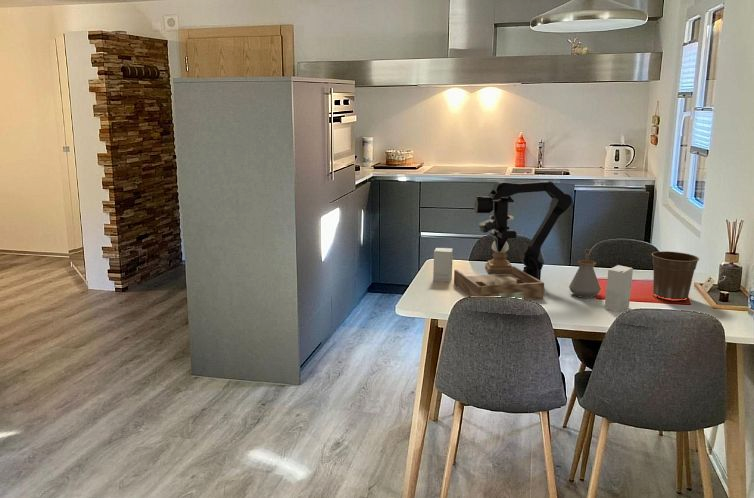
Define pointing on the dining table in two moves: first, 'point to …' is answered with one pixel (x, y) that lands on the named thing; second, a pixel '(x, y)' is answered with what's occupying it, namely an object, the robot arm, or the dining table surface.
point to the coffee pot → (585, 279)
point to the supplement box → (443, 264)
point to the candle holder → (499, 259)
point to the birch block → (504, 280)
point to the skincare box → (618, 288)
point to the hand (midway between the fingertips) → (498, 251)
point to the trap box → (486, 285)
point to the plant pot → (673, 274)
